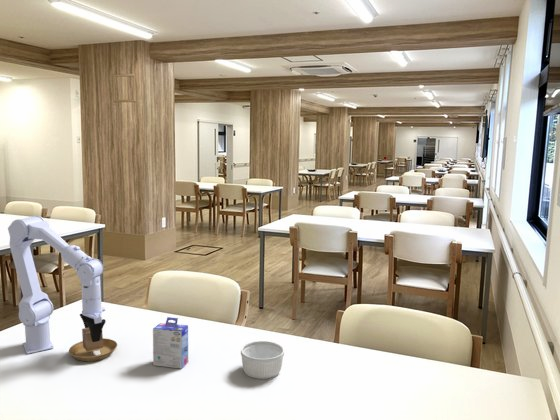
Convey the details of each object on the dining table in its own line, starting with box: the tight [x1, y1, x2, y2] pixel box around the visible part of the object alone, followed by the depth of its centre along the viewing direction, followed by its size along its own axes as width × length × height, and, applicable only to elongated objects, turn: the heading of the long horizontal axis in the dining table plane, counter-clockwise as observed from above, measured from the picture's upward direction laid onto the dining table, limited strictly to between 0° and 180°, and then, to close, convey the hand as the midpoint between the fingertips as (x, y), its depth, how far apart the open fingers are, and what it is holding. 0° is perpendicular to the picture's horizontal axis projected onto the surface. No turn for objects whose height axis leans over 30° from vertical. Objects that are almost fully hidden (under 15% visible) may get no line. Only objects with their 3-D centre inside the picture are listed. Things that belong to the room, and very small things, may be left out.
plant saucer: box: [68, 337, 118, 362], centre depth 154 cm, size 15×15×3 cm
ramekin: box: [240, 340, 285, 380], centre depth 143 cm, size 13×13×7 cm
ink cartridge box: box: [152, 316, 189, 369], centre depth 147 cm, size 10×6×14 cm, turn 78°
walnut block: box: [81, 327, 104, 351], centre depth 153 cm, size 5×5×6 cm
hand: (93, 337), depth 153 cm, fingers open, 6 cm apart
